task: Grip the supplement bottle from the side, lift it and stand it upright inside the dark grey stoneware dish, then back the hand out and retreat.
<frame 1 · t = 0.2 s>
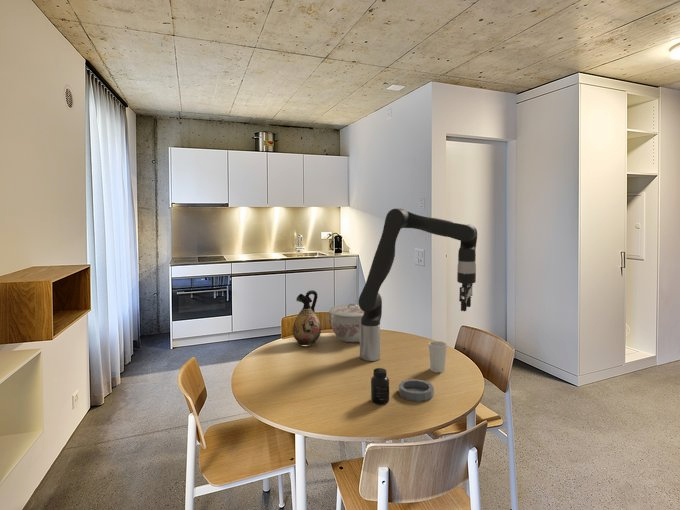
hand: (465, 308, 169), 29 cm above the table, tool pointing down, fingers open, 8 cm apart
supplement bottle: (380, 401, 148), on the table
ceramic jug: (308, 344, 217), on the table
cup: (437, 370, 177), on the table
chamber pot: (353, 339, 225), on the table
dish: (415, 393, 153), on the table
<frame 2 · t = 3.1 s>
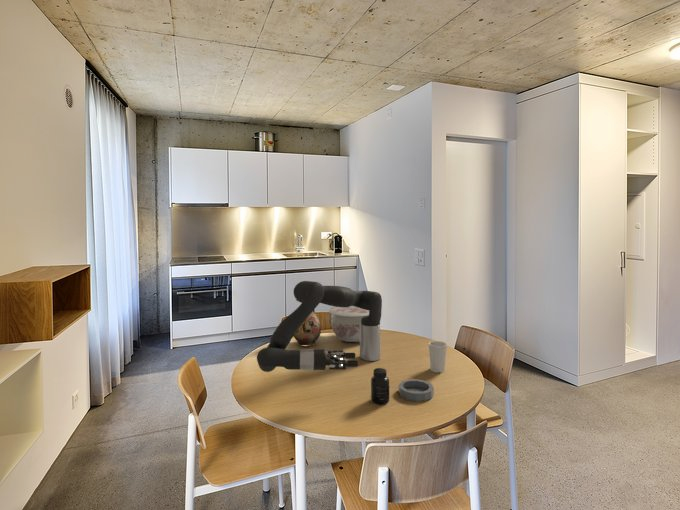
hand: (356, 359, 145), 16 cm above the table, tool horizontal, fingers open, 8 cm apart
nothing on the table moved.
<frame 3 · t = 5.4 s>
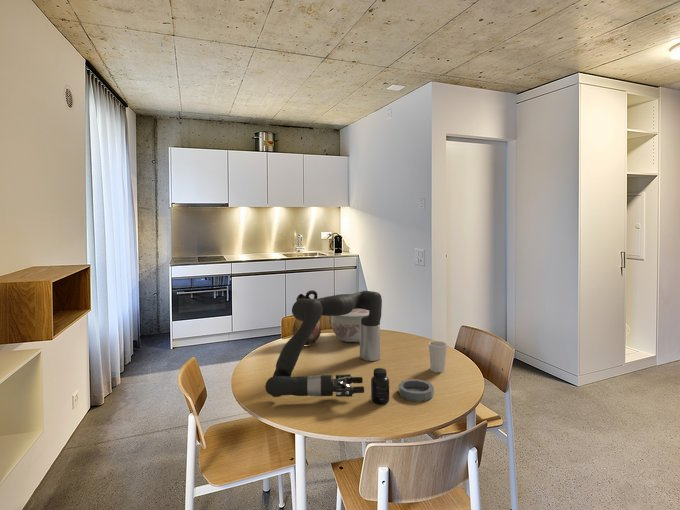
hand: (363, 384, 147), 6 cm above the table, tool horizontal, fingers open, 8 cm apart
nothing on the table moved.
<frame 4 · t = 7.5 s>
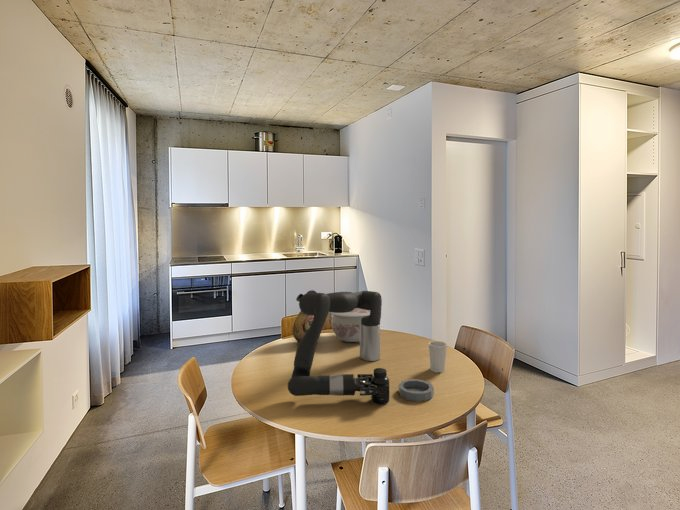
hand: (386, 383, 147), 7 cm above the table, tool horizontal, fingers closed on supplement bottle, 7 cm apart
supplement bottle: (380, 401, 148), on the table, touching gripper
everything else where it was.
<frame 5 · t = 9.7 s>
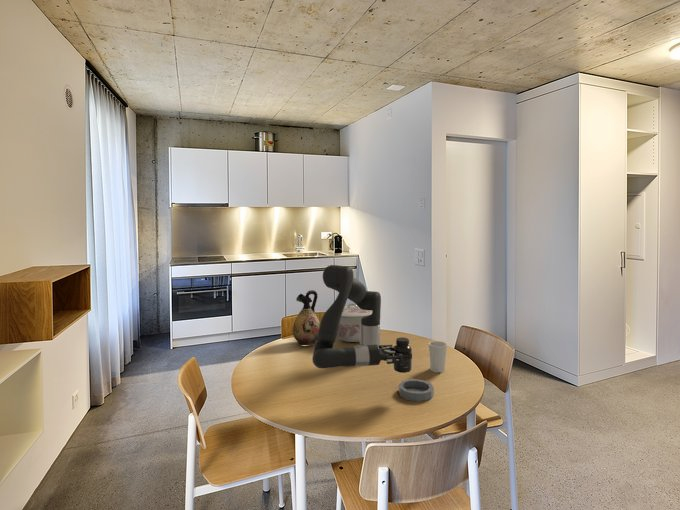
hand: (408, 352, 150), 17 cm above the table, tool horizontal, fingers closed on supplement bottle, 7 cm apart
supplement bottle: (402, 370, 150), point 11 cm above the table, touching gripper
everything else where it was.
when the fingers open (8 cm above the table, at t = 12.4 s): supplement bottle drops 1 cm, resting on dish.
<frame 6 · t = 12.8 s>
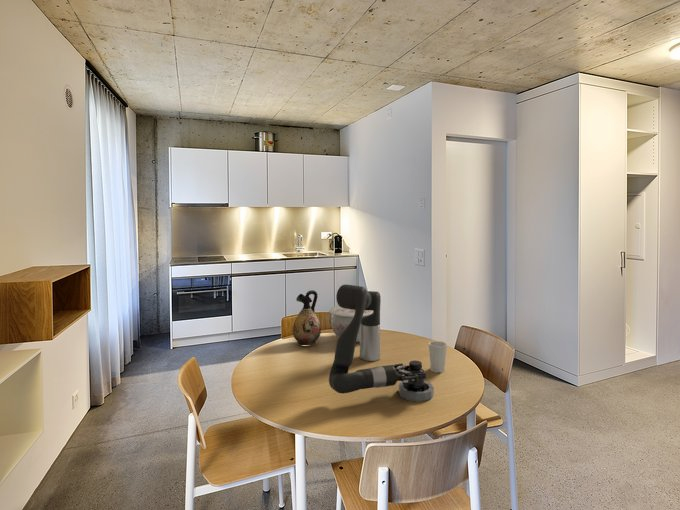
hand: (420, 371, 153), 9 cm above the table, tool horizontal, fingers open, 8 cm apart
supplement bottle: (415, 392, 153), resting on dish
everything else where it was.
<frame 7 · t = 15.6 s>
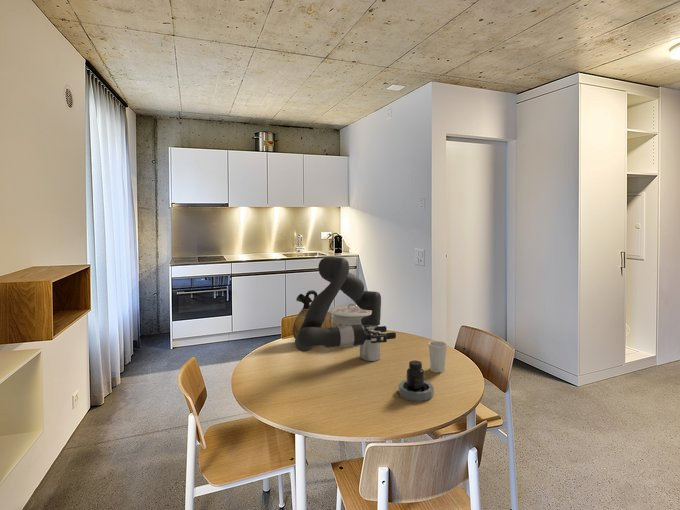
hand: (390, 331, 148), 26 cm above the table, tool horizontal, fingers open, 8 cm apart
nothing on the table moved.
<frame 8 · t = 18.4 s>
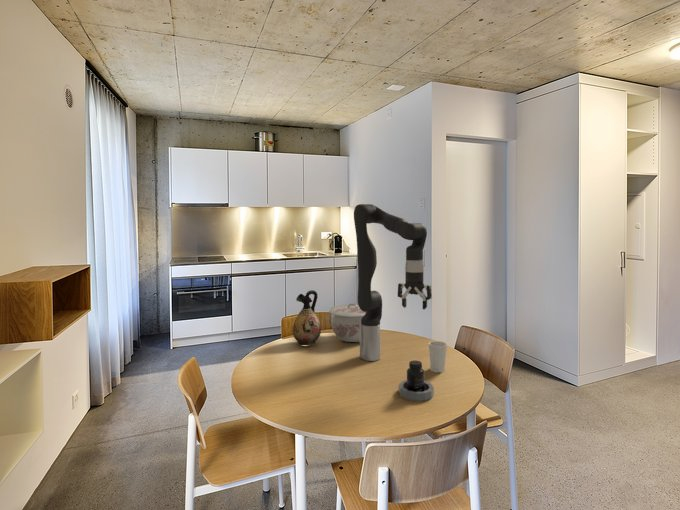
hand: (414, 308, 167), 30 cm above the table, tool pointing down, fingers open, 8 cm apart
nothing on the table moved.
at the end: supplement bottle 0.1 cm from the dish (horizontally); supplement bottle tilted 0°; the gripper is holding nothing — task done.
